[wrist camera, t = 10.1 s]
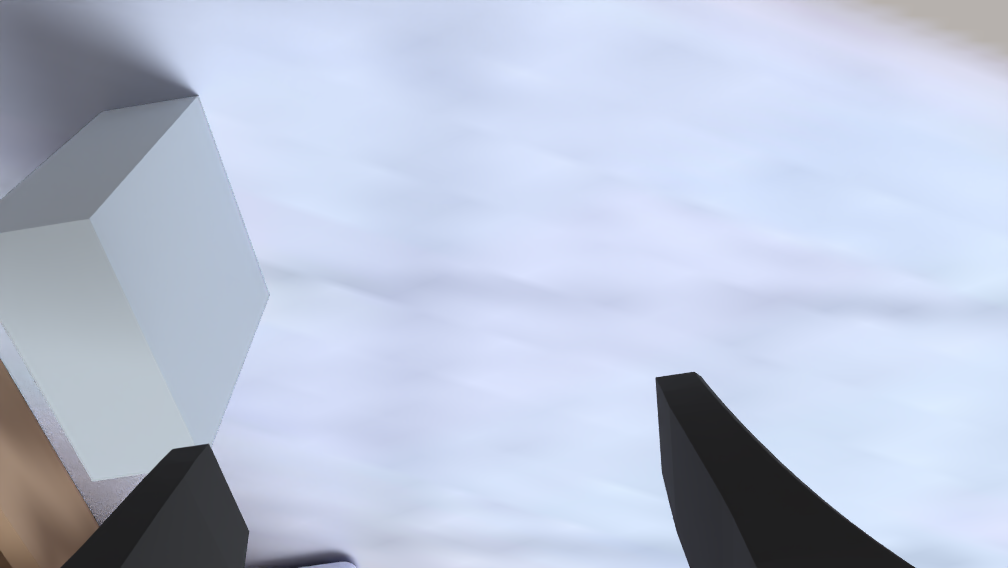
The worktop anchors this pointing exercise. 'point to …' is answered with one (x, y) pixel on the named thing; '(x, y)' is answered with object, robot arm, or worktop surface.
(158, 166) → the pale grey rectangular prism
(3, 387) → the frame
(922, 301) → the worktop surface
